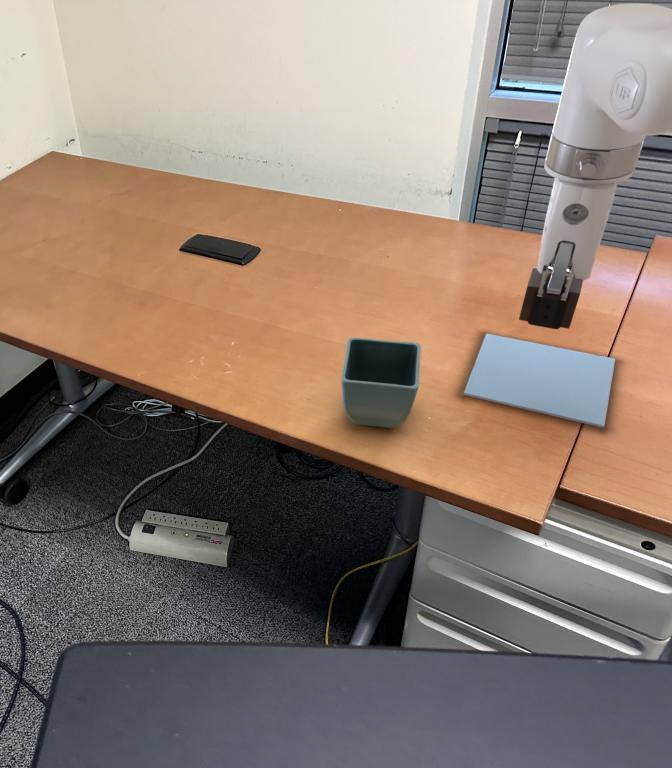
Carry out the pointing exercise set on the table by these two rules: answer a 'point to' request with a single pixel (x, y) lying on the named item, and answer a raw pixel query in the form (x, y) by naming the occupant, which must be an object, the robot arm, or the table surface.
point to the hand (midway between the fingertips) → (546, 312)
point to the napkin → (543, 379)
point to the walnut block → (534, 286)
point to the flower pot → (380, 381)
